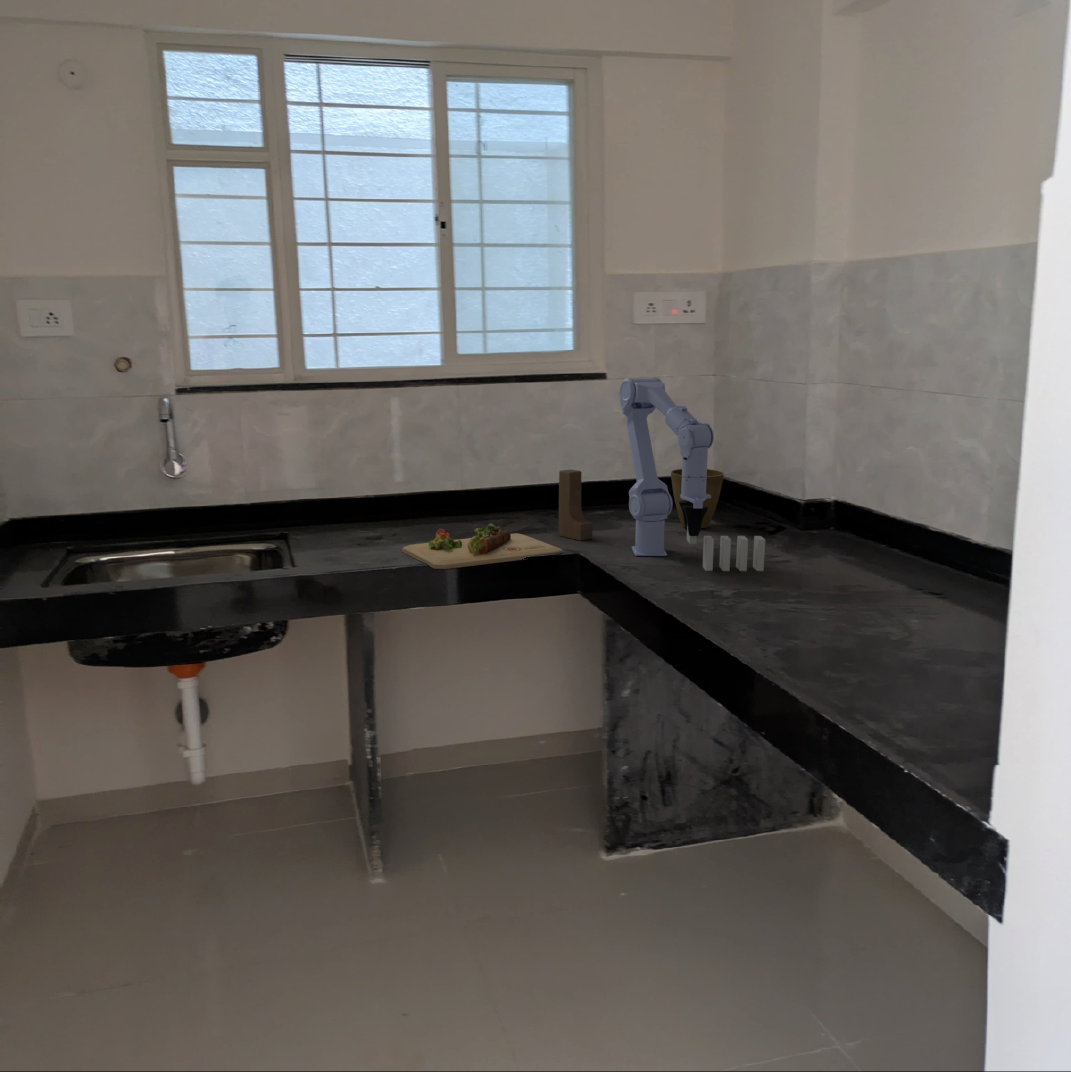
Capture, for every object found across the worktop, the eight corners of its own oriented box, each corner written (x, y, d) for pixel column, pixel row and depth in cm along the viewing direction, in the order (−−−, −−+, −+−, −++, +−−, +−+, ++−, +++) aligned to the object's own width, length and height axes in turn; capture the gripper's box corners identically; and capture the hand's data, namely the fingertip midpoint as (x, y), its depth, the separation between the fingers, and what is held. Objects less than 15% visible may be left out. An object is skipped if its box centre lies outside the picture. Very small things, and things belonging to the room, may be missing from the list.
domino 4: (736, 566, 235) (737, 535, 234) (742, 566, 235) (744, 535, 234) (739, 571, 231) (741, 539, 229) (746, 571, 231) (748, 539, 229)
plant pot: (659, 524, 286) (660, 469, 282) (702, 520, 292) (704, 467, 288) (687, 534, 272) (689, 476, 269) (732, 529, 279) (734, 473, 275)
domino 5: (752, 566, 235) (754, 536, 234) (759, 566, 235) (761, 536, 234) (756, 571, 231) (758, 539, 229) (763, 571, 231) (765, 539, 229)
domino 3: (719, 566, 235) (720, 535, 234) (726, 566, 235) (727, 535, 234) (722, 570, 231) (724, 539, 229) (729, 570, 231) (731, 539, 229)
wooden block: (592, 538, 265) (593, 472, 262) (580, 541, 263) (581, 474, 259) (569, 533, 272) (570, 469, 268) (557, 535, 269) (558, 470, 266)
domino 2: (702, 566, 235) (703, 535, 234) (709, 566, 235) (710, 535, 234) (705, 570, 231) (707, 539, 229) (712, 570, 231) (713, 539, 229)
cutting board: (437, 572, 231) (436, 541, 229) (400, 553, 251) (399, 524, 249) (565, 556, 247) (565, 527, 246) (521, 539, 267) (521, 512, 266)
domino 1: (686, 539, 234) (687, 508, 232) (693, 539, 234) (694, 508, 232) (689, 543, 230) (690, 512, 228) (696, 543, 230) (697, 512, 228)
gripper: (717, 481, 221) (714, 540, 224) (706, 471, 236) (703, 527, 238) (685, 480, 221) (683, 539, 224) (676, 471, 236) (674, 527, 238)
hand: (692, 533), depth 231 cm, fingers closed on domino 1, 4 cm apart
